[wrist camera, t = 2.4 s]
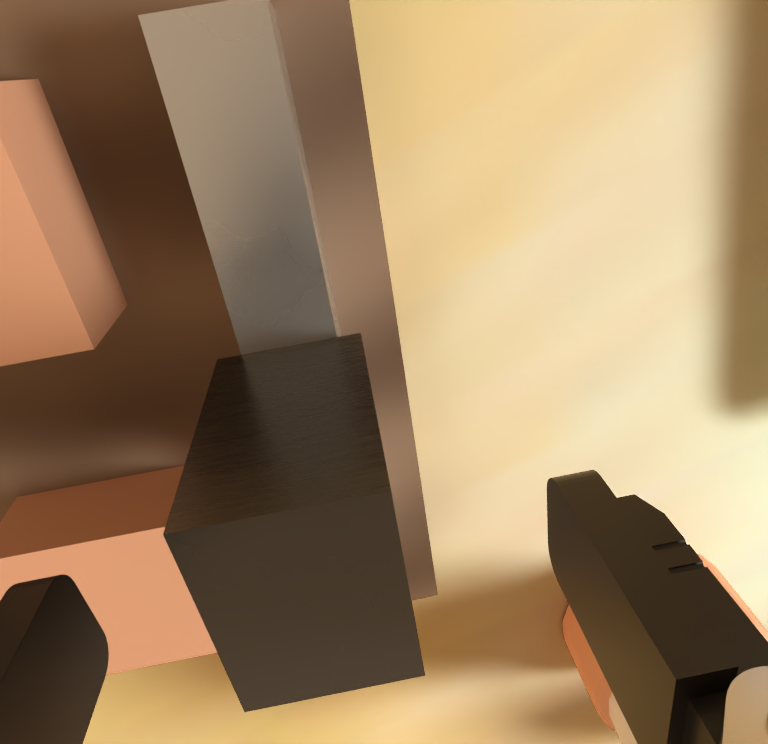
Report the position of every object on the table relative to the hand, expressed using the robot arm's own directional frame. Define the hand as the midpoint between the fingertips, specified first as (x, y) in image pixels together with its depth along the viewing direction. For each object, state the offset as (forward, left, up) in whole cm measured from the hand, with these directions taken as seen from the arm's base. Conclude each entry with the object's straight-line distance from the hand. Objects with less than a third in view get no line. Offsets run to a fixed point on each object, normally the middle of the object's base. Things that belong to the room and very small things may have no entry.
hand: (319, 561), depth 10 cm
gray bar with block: (0, 0, -7) cm, 7 cm away
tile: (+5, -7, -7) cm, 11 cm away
